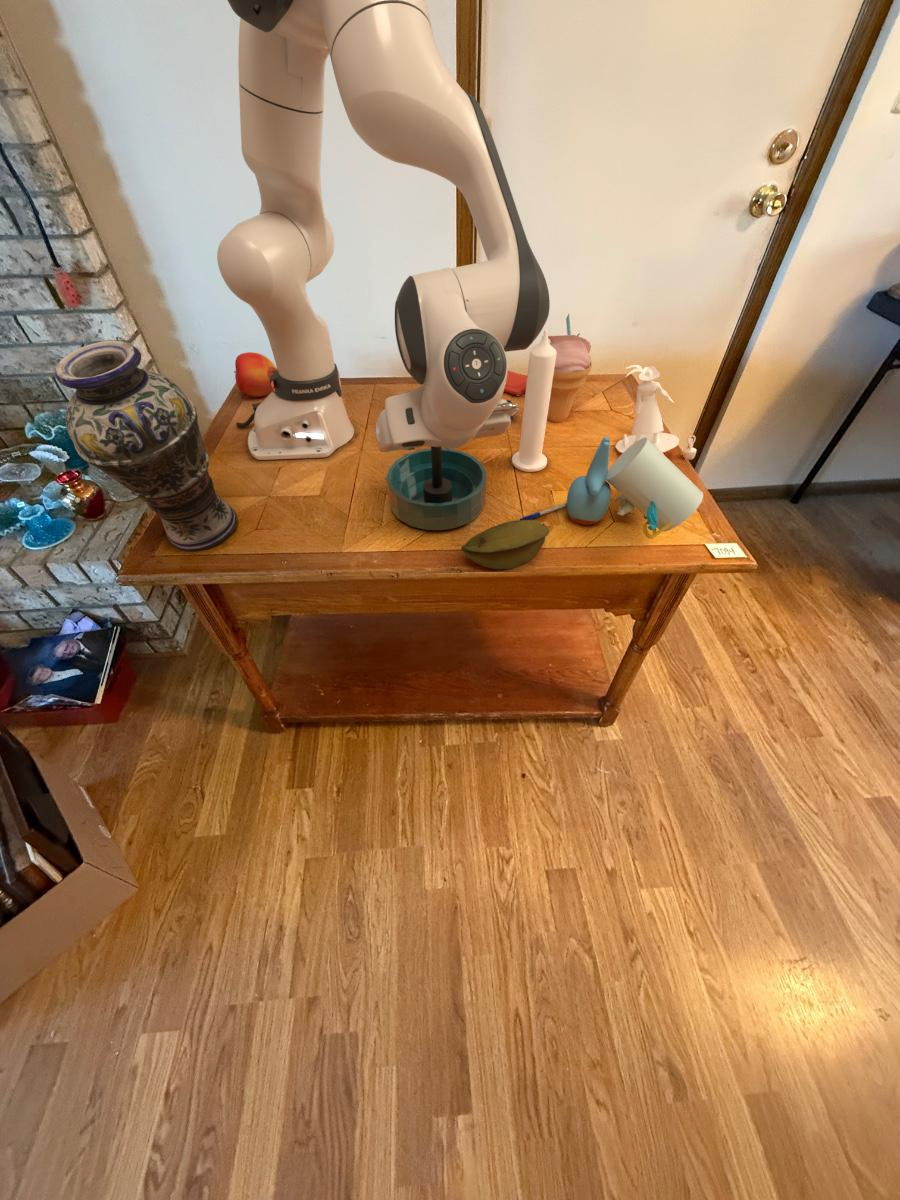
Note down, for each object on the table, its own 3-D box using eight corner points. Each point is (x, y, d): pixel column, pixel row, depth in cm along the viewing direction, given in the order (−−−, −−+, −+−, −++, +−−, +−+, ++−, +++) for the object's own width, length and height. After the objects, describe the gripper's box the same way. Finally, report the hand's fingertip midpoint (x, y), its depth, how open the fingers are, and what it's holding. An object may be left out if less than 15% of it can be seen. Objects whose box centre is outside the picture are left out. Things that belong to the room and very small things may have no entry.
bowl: (399, 541, 84) (396, 513, 80) (383, 482, 96) (379, 455, 91) (497, 524, 87) (499, 496, 83) (470, 469, 99) (470, 442, 94)
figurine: (692, 447, 104) (701, 344, 93) (700, 472, 95) (710, 361, 84) (615, 455, 109) (614, 358, 98) (614, 478, 100) (614, 375, 89)
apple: (282, 353, 114) (236, 346, 109) (284, 397, 117) (239, 392, 112) (272, 358, 122) (228, 351, 117) (274, 399, 125) (231, 395, 120)
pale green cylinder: (580, 515, 80) (638, 568, 82) (636, 472, 71) (699, 532, 73) (605, 457, 93) (654, 505, 95) (655, 414, 84) (708, 467, 86)
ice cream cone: (524, 410, 114) (534, 315, 99) (567, 402, 116) (583, 309, 101) (545, 433, 107) (559, 335, 92) (589, 425, 109) (610, 328, 94)
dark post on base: (427, 509, 89) (422, 415, 75) (421, 493, 92) (415, 399, 79) (455, 505, 90) (455, 411, 76) (448, 488, 93) (446, 395, 79)
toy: (629, 429, 80) (602, 505, 91) (585, 422, 81) (564, 498, 92) (630, 460, 73) (601, 539, 84) (582, 452, 74) (560, 531, 85)
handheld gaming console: (537, 383, 123) (487, 368, 129) (537, 378, 122) (487, 364, 128) (518, 397, 118) (467, 381, 124) (518, 392, 117) (467, 377, 123)
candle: (517, 474, 97) (532, 340, 78) (507, 455, 102) (519, 324, 83) (551, 469, 98) (574, 336, 79) (540, 451, 103) (558, 320, 84)
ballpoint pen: (518, 517, 87) (518, 522, 88) (520, 519, 86) (520, 524, 87) (567, 501, 90) (567, 506, 91) (570, 503, 89) (570, 508, 90)
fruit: (531, 588, 77) (535, 557, 72) (460, 569, 80) (458, 539, 75) (550, 541, 84) (554, 510, 79) (483, 526, 87) (483, 496, 82)
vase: (171, 580, 80) (38, 417, 55) (139, 520, 88) (10, 356, 64) (265, 532, 85) (181, 364, 61) (227, 480, 93) (139, 314, 69)
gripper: (518, 380, 69) (493, 413, 83) (373, 399, 66) (372, 430, 79) (526, 426, 69) (500, 451, 83) (382, 446, 66) (379, 469, 80)
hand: (436, 440), depth 81 cm, fingers open, 8 cm apart
